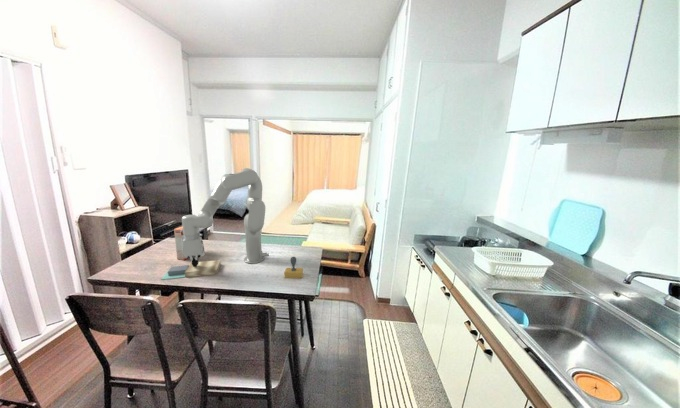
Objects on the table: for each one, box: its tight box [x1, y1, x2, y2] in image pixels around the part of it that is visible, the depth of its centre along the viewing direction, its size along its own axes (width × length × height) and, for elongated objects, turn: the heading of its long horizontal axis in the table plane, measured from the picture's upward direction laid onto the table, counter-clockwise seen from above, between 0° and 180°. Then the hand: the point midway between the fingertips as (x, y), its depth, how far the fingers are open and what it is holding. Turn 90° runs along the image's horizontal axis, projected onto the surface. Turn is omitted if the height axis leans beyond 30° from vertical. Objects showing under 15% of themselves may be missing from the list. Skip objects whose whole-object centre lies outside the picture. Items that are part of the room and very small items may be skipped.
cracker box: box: [173, 225, 188, 261], centre depth 157 cm, size 14×6×21 cm, turn 167°
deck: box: [184, 259, 221, 278], centre depth 141 cm, size 16×12×3 cm
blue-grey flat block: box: [167, 264, 190, 276], centre depth 137 cm, size 9×6×2 cm, turn 108°
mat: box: [160, 268, 186, 281], centre depth 137 cm, size 11×12×1 cm
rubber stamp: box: [283, 256, 304, 279], centre depth 137 cm, size 10×6×12 cm, turn 92°
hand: (195, 265), depth 139 cm, fingers closed
